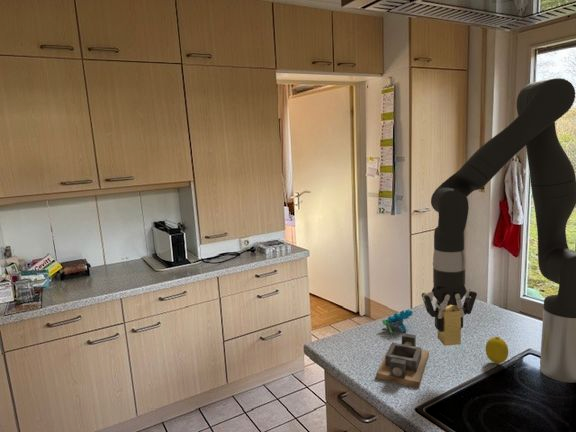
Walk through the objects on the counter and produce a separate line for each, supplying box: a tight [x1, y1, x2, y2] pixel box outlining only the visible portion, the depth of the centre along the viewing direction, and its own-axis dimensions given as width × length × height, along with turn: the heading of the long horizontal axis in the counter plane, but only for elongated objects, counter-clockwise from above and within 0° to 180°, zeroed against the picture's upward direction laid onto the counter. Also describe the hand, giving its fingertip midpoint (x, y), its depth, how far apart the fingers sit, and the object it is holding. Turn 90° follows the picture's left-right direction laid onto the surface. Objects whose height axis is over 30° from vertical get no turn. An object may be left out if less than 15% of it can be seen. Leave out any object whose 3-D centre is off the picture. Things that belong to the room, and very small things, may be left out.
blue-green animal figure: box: [382, 309, 414, 334], centre depth 134 cm, size 11×6×10 cm
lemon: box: [485, 336, 509, 365], centre depth 110 cm, size 6×6×8 cm
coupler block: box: [437, 305, 462, 347], centre depth 104 cm, size 4×4×9 cm
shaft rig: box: [375, 332, 430, 388], centre depth 111 cm, size 11×17×6 cm, turn 153°
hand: (449, 329), depth 104 cm, fingers closed on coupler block, 4 cm apart
